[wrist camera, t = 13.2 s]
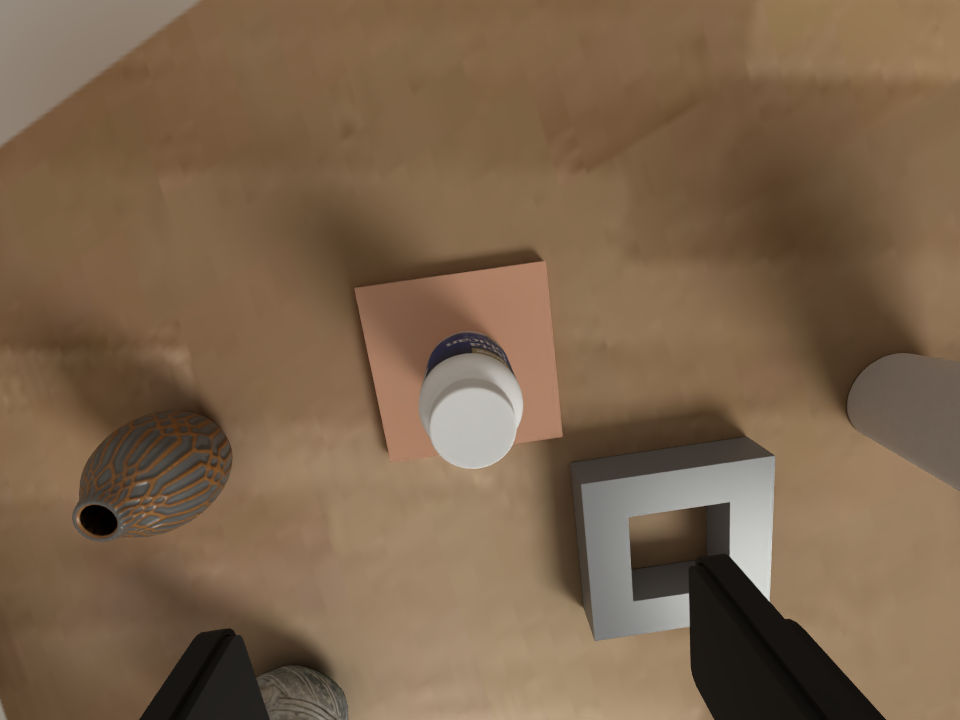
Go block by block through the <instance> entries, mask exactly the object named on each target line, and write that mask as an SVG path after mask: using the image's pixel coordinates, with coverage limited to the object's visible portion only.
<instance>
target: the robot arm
mask: <svg viewBox="0 0 960 720" xmlns="http://www.w3.org/2000/svg"><path fill="white" fill-rule="evenodd" d="M688 574H689V615H690V656H691V671H692V675H693V678H694V681H695V684H696V686H697V688H698V690H699V692H700V694H701V696H702V698H703V700H704V701H705V703H706V705H707V707H708V709H709V711H710V712H711V714H712V716H713V718H714V720H886V719H885V718H884V717H883V716H882V715H881V714H880V712H879V711H878V710H877V709H876V708H875V707H874V706H873V705H872V704H871V702H870V701H869V700H868V699H867V698H866V697H865V696H864V695H863V694H862V693H861V691H860V690H859V689H858V688H857V687H856V686H855V685H854V684H853V683H852V681H851V680H850V679H849V678H848V677H847V676H846V675H845V674H844V673H843V672H842V670H841V669H840V668H839V667H838V666H837V665H836V664H835V663H834V662H833V661H832V659H831V658H830V657H829V656H828V655H827V654H826V653H825V652H824V651H823V649H822V648H821V647H820V646H819V645H818V644H817V643H816V642H815V641H814V640H813V638H812V637H811V636H810V635H809V634H808V633H807V632H806V631H805V630H804V629H803V628H802V627H801V626H800V625H799V624H798V623H797V622H795V621H793V620H791V619H784V618H783V616H782V615H781V614H780V613H779V612H778V611H777V610H776V608H775V607H774V606H773V605H772V604H771V603H770V602H769V600H768V599H767V598H766V597H765V596H764V595H763V594H762V593H761V591H760V590H759V589H758V588H757V587H756V586H755V585H754V583H753V582H752V581H751V580H750V579H749V578H748V577H747V575H746V574H745V573H744V572H743V571H742V570H741V569H740V567H739V566H738V565H737V564H736V563H735V562H734V561H733V560H732V558H731V557H729V556H728V555H727V554H725V553H723V554H717V555H710V556H704V557H698V558H697V559H696V561H695V566H690V567H689V572H688ZM139 720H270V718H269V715H268V712H267V709H266V706H265V703H264V700H263V697H262V694H261V691H260V688H259V685H258V682H257V679H256V676H255V673H254V670H253V667H252V664H251V661H250V658H249V656H248V653H247V650H246V647H245V644H244V641H243V638H242V637H241V636H240V635H236V634H235V632H234V631H233V630H232V629H222V630H215V631H209V632H202V633H200V634H198V635H197V636H196V637H195V638H194V640H193V641H192V642H191V644H190V645H189V647H188V648H187V650H186V651H185V653H184V654H183V656H182V657H181V659H180V660H179V662H178V663H177V665H176V666H175V668H174V669H173V670H172V672H171V673H170V675H169V676H168V678H167V679H166V681H165V682H164V684H163V685H162V687H161V688H160V690H159V691H158V693H157V694H156V696H155V697H154V699H153V700H152V702H151V703H150V705H149V706H148V707H147V709H146V710H145V712H144V713H143V715H142V716H141V718H140V719H139Z"/></svg>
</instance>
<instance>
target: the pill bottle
mask: <svg viewBox="0 0 960 720" xmlns="http://www.w3.org/2000/svg"><path fill="white" fill-rule="evenodd" d="M522 413H523V397H522V392H521V389H520V386H519V383H518V381H517V379H516V377H515V374H514V372H513V370H512V367H511V365H510V362H509V360H508V357H507V355H506V353H505V352H504V350H503V349H502V347H501V346H500V345H499V344H498V343H497V342H496V341H495V340H494V339H493V338H491V337H489V336H487V335H485V334H483V333H479V332H475V331H462V332H458V333H454V334H452V335H449V336H448V337H446V338H444V339H443V340H442V341H440V342H439V343H438V344H437V346H436V347H435V348H434V350H433V351H432V353H431V355H430V357H429V360H428V363H427V367H426V371H425V375H424V379H423V383H422V387H421V391H420V396H419V415H420V420H421V423H422V425H423V427H424V429H425V431H426V433H427V434H428V435H429V437H430V440H431V442H432V444H433V446H434V448H435V450H436V451H437V452H438V454H439V455H440V456H441V457H442V458H444V459H445V460H446V461H448V462H449V463H451V464H453V465H456V466H458V467H462V468H469V469H476V468H483V467H486V466H489V465H492V464H493V463H495V462H497V461H499V460H500V459H501V458H502V457H503V456H505V455H506V453H507V452H508V451H509V450H510V448H511V446H512V445H513V442H514V440H515V437H516V431H517V428H518V426H519V423H520V421H521V417H522Z"/></svg>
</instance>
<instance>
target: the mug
mask: <svg viewBox="0 0 960 720" xmlns="http://www.w3.org/2000/svg"><path fill="white" fill-rule="evenodd" d="M256 679H257V682H258V685H259V688H260V691H261V694H262V697H263V700H264V703H265V706H266V709H267V712H268V715H269V718H270V720H348V706H347V702H346V698H345V695H344V692H343V691H342V689H341V688H340V687H339V686H338V684H337V683H336V682H334V681H333V680H332V679H331V678H329V677H328V676H326V675H324V674H322V673H320V672H317V671H315V670H313V669H310V668H307V667H304V666H297V665H294V666H283V667H280V668H278V669H275V670H272V671H269V672H266V673H264V674H262V675H260V676H258V677H257V678H256Z"/></svg>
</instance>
